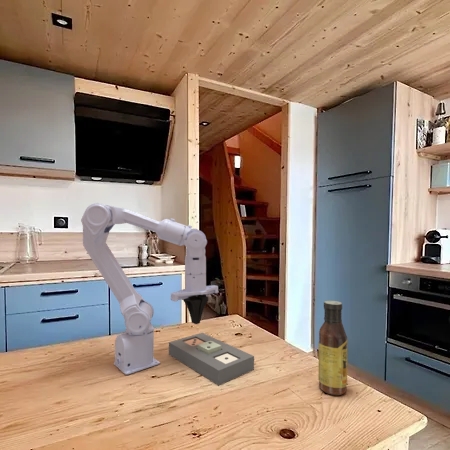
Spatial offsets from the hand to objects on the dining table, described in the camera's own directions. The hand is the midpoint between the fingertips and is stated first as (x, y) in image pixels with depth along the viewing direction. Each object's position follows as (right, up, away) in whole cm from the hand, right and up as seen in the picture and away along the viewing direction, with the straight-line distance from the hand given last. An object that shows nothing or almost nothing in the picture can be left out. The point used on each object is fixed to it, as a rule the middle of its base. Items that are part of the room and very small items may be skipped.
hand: (195, 322), depth 84 cm
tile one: (+8, -9, -6) cm, 14 cm away
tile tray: (+4, -10, 0) cm, 11 cm away
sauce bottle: (+33, -11, -13) cm, 37 cm away
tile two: (+4, -8, 0) cm, 9 cm away
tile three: (-1, -9, +5) cm, 10 cm away
